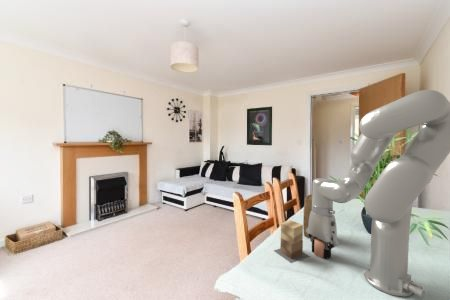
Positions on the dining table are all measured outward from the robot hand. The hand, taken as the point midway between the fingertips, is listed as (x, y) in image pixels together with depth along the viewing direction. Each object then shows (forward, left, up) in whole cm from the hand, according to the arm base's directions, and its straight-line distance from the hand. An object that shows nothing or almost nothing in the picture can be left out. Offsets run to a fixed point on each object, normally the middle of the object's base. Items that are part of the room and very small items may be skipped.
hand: (320, 254), depth 85 cm
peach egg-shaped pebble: (0, 0, -1) cm, 1 cm away
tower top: (+6, +10, +6) cm, 13 cm away
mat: (+6, +10, 0) cm, 12 cm away
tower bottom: (+6, +10, 0) cm, 12 cm away
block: (+13, -12, -1) cm, 18 cm away
